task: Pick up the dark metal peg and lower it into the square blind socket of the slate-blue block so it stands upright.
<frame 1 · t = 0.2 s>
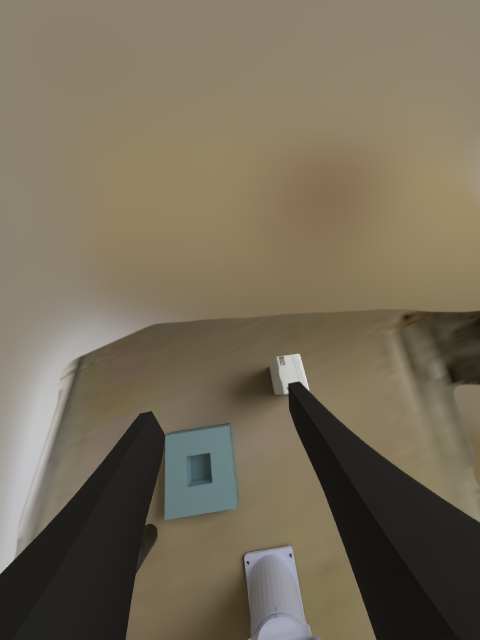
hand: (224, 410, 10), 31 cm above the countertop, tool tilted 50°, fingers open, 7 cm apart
skincare box: (279, 378, 40), on the countertop
metal peg: (148, 535, 31), on the countertop
socket block: (202, 463, 35), on the countertop
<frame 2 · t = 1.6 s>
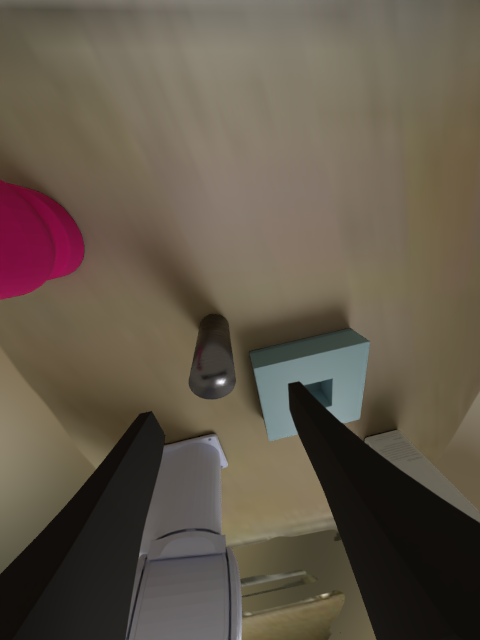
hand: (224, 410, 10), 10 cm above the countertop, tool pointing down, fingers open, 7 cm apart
pepper mill: (42, 236, 14), on the countertop
skincare box: (379, 437, 31), on the countertop
metal peg: (214, 327, 19), on the countertop
socket block: (302, 378, 23), on the countertop
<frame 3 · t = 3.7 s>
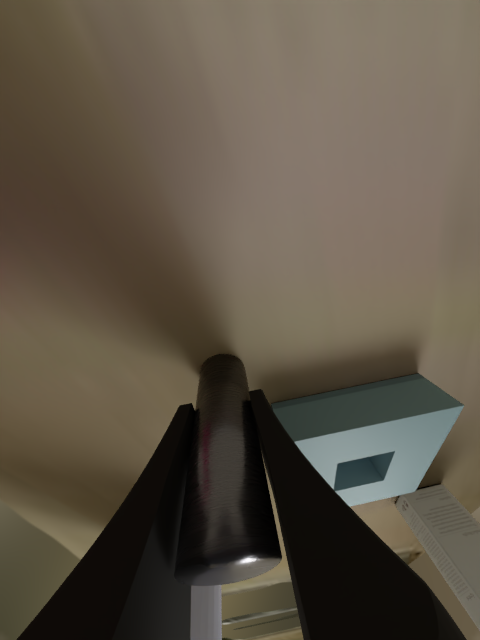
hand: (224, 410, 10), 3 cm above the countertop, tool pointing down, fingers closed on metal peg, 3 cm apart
skincare box: (417, 491, 25), on the countertop
metal peg: (222, 372, 12), on the countertop, touching gripper
socket block: (339, 434, 17), on the countertop
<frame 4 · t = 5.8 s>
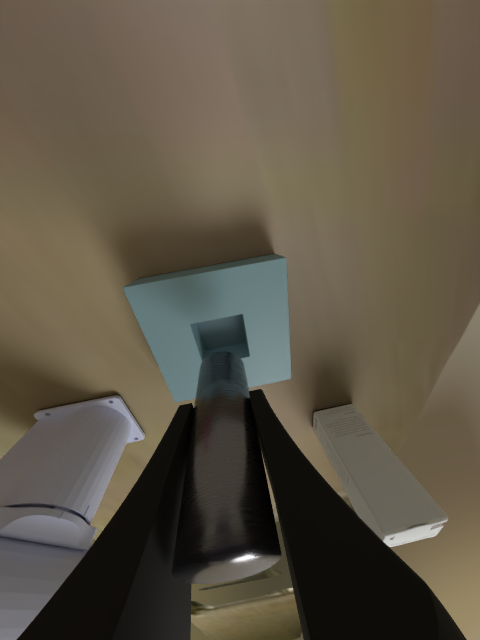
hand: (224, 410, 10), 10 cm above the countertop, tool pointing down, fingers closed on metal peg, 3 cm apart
skincare box: (331, 413, 27), on the countertop
metal peg: (222, 369, 12), point 7 cm above the countertop, touching gripper
socket block: (221, 325, 18), on the countertop
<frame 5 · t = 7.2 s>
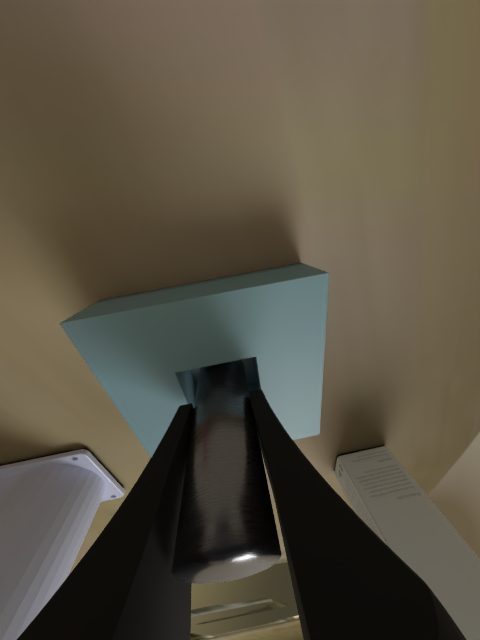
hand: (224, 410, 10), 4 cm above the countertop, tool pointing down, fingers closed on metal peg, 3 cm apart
skincare box: (358, 456, 22), on the countertop
metal peg: (222, 369, 12), point 1 cm above the countertop, touching gripper
socket block: (222, 361, 13), on the countertop
when the fingers open (4 cm above the countertop, at t = 8.1 s): metal peg stays where it is, resting on socket block.
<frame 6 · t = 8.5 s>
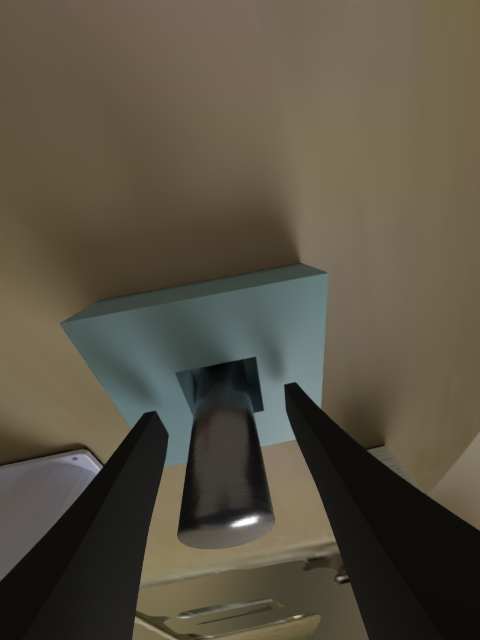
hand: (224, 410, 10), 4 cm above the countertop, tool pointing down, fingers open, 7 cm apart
skincare box: (358, 456, 22), on the countertop
metal peg: (222, 363, 13), resting on socket block
socket block: (222, 361, 13), on the countertop
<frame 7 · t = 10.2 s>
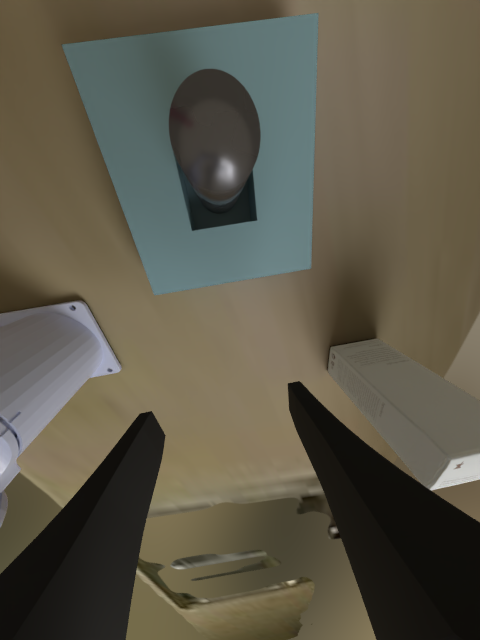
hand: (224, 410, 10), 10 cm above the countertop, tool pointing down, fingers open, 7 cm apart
skincare box: (351, 353, 22), on the countertop
metal peg: (217, 189, 13), point 1 cm above the countertop, touching socket block
socket block: (218, 194, 14), on the countertop
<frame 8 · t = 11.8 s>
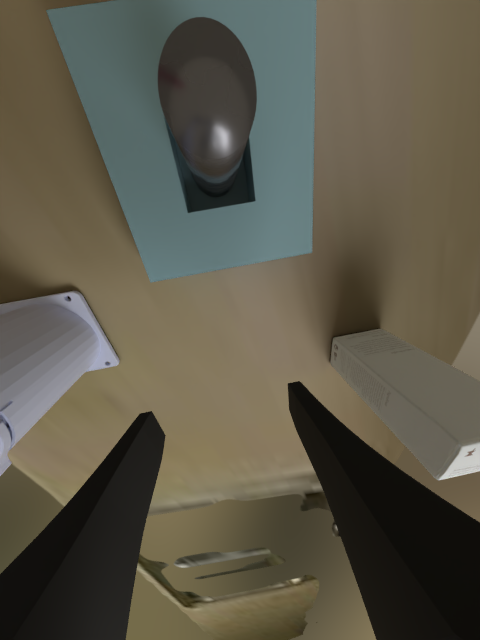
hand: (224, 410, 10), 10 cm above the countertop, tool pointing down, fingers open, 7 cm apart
skincare box: (354, 344, 22), on the countertop
metal peg: (214, 172, 13), point 1 cm above the countertop, touching socket block
socket block: (215, 177, 13), on the countertop
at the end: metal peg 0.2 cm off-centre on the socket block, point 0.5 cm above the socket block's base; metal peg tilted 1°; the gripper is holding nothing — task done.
